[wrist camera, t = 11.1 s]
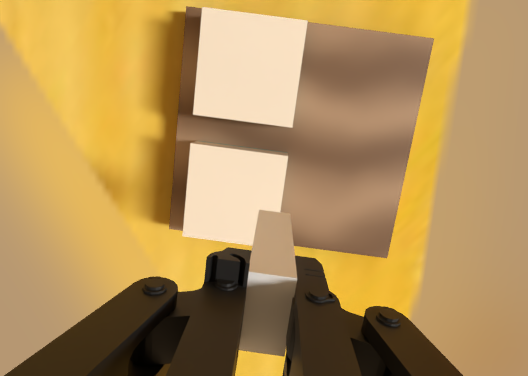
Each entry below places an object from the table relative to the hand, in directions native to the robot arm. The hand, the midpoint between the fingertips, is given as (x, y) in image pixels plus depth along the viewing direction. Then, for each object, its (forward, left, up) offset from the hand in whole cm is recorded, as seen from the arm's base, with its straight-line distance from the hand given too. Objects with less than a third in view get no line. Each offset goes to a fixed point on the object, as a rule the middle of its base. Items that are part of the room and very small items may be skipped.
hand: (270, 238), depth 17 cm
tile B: (+1, +1, -10) cm, 10 cm away
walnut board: (-4, +1, -13) cm, 14 cm away
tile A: (-8, +1, -10) cm, 13 cm away
